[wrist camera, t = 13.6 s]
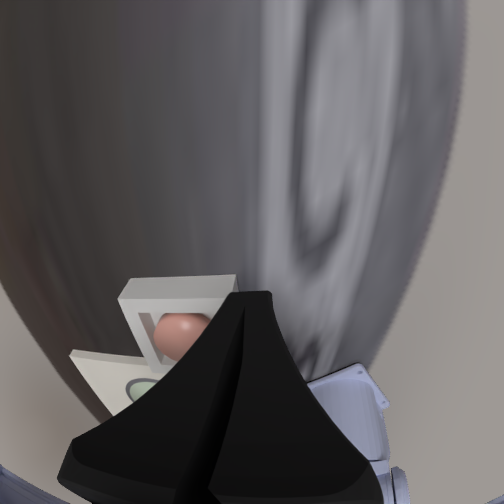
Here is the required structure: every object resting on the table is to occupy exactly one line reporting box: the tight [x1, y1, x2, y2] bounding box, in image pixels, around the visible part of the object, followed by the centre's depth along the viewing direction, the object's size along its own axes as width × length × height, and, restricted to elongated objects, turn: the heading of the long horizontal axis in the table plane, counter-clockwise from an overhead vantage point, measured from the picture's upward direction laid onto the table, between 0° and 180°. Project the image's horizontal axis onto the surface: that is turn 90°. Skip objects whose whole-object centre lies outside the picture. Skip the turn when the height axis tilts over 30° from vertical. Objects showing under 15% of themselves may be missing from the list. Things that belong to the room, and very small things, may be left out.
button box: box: [118, 274, 239, 374], centre depth 22 cm, size 8×8×2 cm
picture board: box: [70, 349, 166, 416], centre depth 31 cm, size 20×16×1 cm
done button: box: [153, 313, 210, 362], centre depth 21 cm, size 5×5×1 cm
